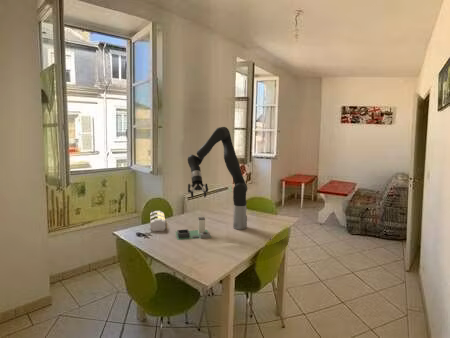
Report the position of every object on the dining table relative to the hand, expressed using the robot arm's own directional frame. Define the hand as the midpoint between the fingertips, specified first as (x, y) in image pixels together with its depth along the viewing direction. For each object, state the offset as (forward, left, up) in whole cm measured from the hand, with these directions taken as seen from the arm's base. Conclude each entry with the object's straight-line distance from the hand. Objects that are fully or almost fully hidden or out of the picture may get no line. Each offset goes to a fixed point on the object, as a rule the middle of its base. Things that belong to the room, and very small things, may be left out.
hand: (198, 197), depth 220 cm
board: (+6, +12, -24) cm, 28 cm away
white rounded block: (+28, -17, -25) cm, 41 cm away
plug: (0, +11, -22) cm, 25 cm away
